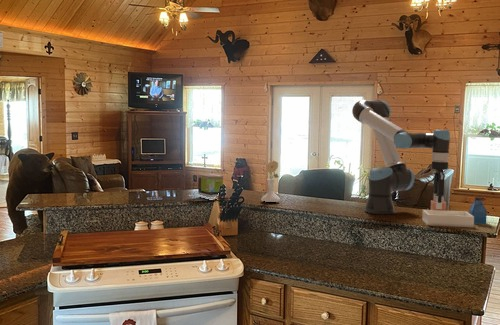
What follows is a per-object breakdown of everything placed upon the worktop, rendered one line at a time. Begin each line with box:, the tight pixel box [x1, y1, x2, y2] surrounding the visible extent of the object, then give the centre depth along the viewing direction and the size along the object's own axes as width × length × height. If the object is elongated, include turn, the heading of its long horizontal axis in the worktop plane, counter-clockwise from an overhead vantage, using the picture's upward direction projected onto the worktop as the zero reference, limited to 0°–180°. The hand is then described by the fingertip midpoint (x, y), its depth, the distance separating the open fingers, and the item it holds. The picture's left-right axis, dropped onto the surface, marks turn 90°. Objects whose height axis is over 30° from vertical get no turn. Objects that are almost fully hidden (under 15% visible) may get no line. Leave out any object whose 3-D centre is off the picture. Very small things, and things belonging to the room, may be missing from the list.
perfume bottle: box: [468, 196, 487, 225], centre depth 225 cm, size 6×6×12 cm
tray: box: [422, 209, 475, 228], centre depth 222 cm, size 13×20×5 cm, turn 79°
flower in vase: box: [260, 160, 281, 203], centre depth 275 cm, size 13×11×25 cm
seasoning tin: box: [430, 199, 447, 211], centre depth 233 cm, size 6×6×8 cm
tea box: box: [197, 173, 224, 197], centre depth 289 cm, size 15×10×15 cm
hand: (437, 207), depth 233 cm, fingers closed on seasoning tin, 6 cm apart
